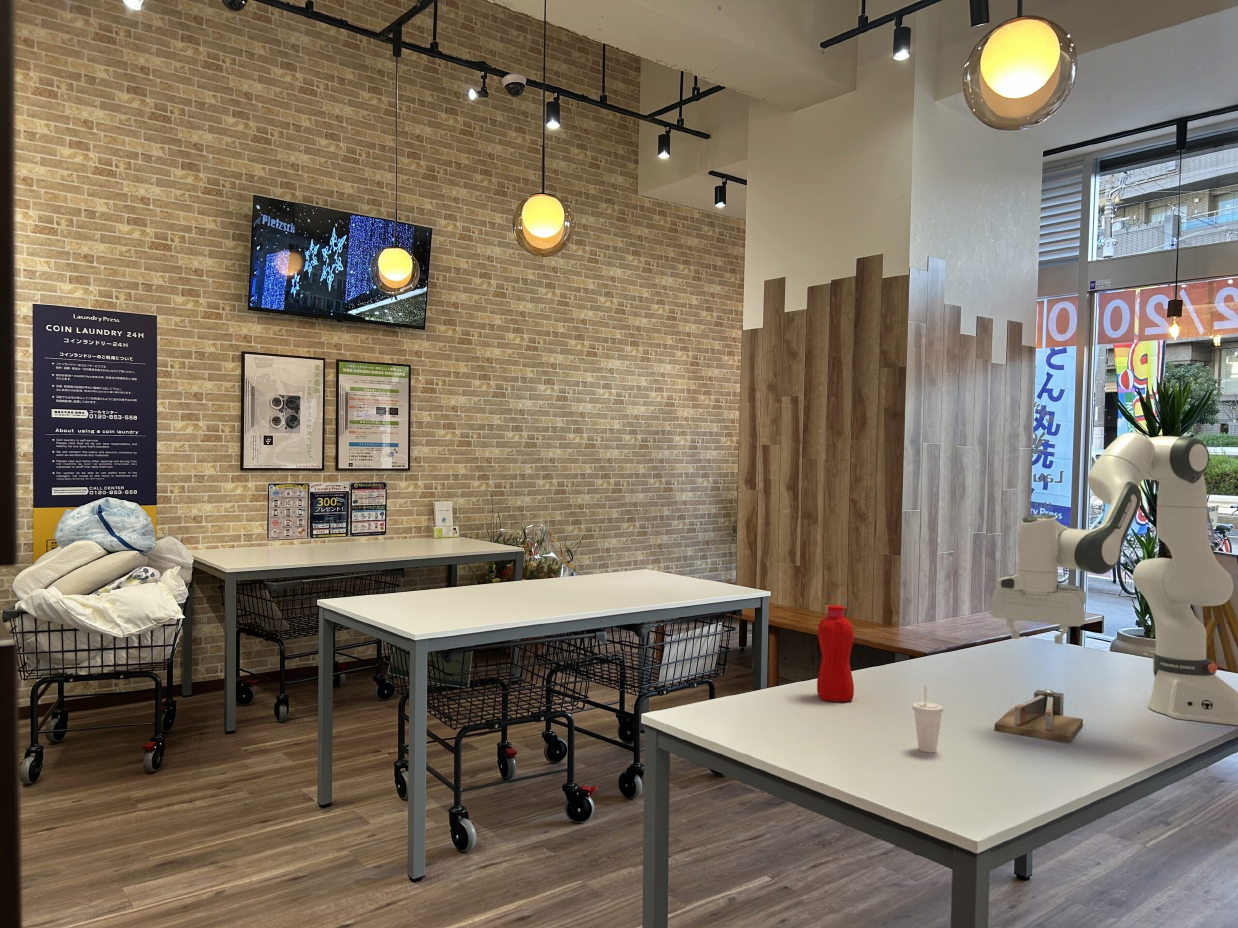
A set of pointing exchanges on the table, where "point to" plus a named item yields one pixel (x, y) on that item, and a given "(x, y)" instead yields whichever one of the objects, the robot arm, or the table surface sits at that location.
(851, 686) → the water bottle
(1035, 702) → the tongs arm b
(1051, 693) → the pivot block
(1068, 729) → the walnut board
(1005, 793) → the table surface
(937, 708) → the smoothie
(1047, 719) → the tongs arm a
